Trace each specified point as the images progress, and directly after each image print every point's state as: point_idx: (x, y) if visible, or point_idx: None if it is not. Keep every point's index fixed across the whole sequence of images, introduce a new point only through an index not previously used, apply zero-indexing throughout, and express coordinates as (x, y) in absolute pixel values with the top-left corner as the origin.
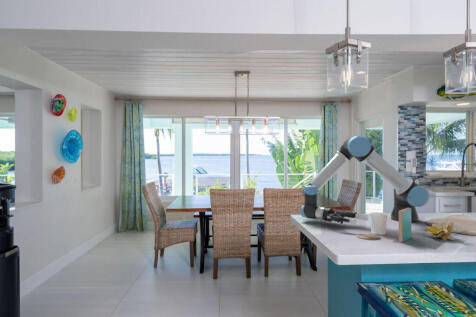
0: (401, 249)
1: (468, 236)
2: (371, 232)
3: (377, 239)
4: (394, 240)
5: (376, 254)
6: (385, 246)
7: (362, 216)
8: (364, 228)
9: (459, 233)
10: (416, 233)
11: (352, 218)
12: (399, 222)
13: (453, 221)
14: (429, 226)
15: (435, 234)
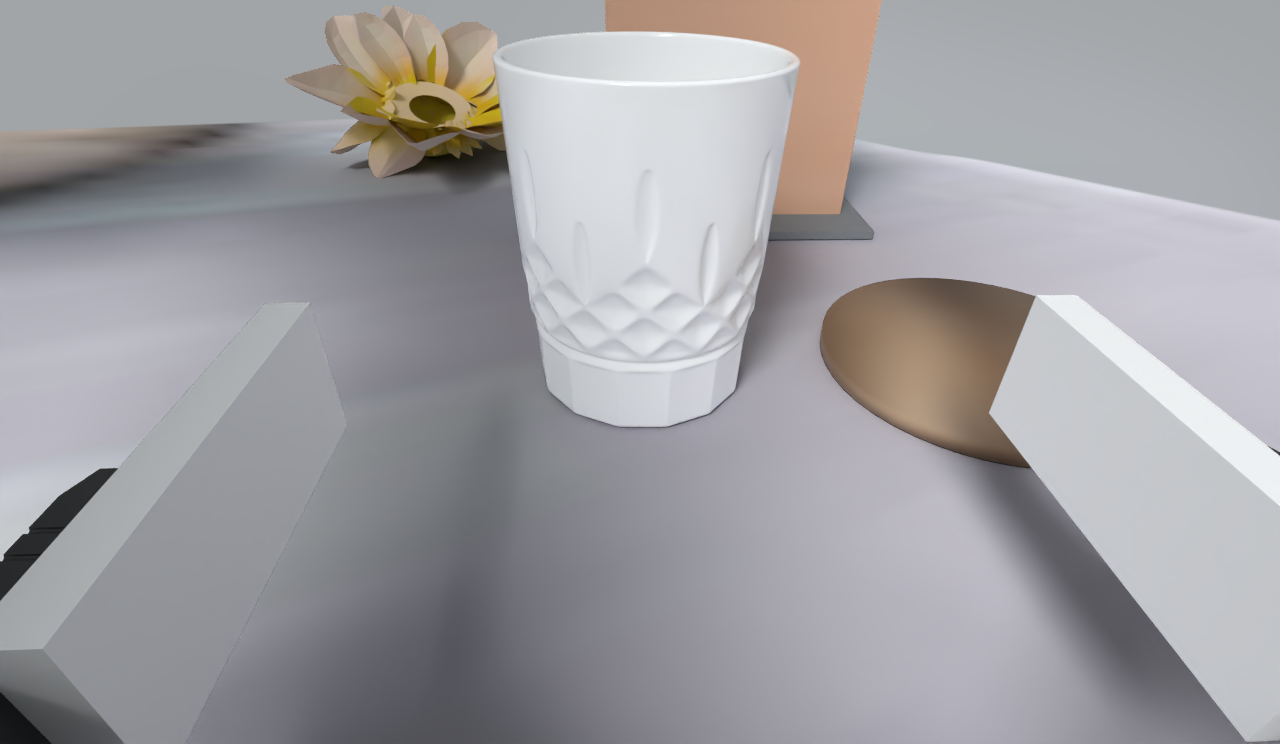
0: (978, 193)
1: (282, 125)
2: (713, 403)
3: (969, 282)
4: (827, 231)
5: (1275, 221)
6: (1042, 236)
7: (264, 442)
8: (377, 632)
9: (196, 141)
10: (353, 225)
11: (1132, 344)
12: (874, 21)
13: (385, 6)
14: (343, 111)
15: (497, 127)
